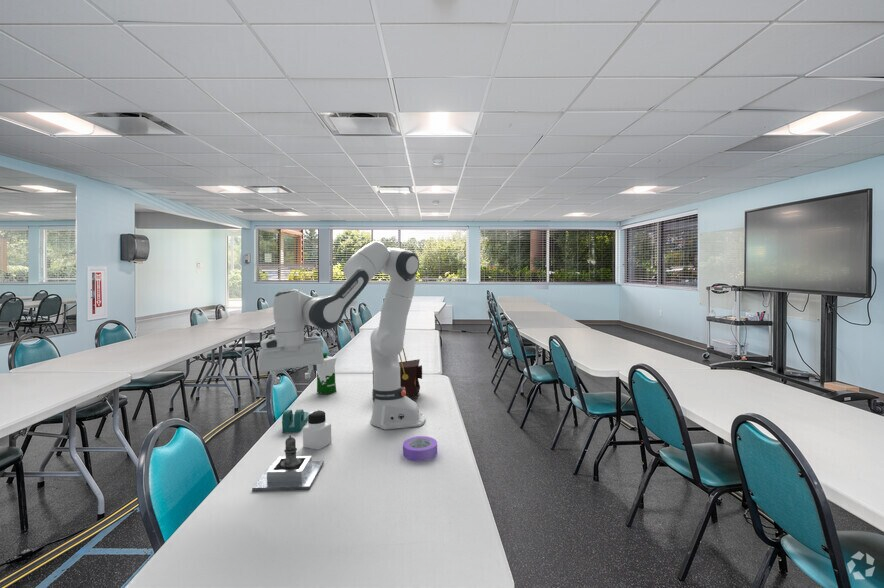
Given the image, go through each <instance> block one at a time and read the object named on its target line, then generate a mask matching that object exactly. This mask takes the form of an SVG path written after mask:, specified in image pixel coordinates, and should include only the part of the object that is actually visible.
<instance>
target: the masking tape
mask: <svg viewBox="0 0 884 588" xmlns="http://www.w3.org/2000/svg"><path fill="white" fill-rule="evenodd" d="M402 455H403V457H404V458H405V459H407V460H410V461H413V462H423V461H424V462H425V461H429V460H432V459H434V458H435V457H436V456H438V441H437V440H436V439H435V438H433V437H430V436H425V435H418V436H412V437H408V438H406V439H405V440H404V441H403V443H402Z"/></svg>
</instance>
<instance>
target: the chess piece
mask: <svg viewBox="0 0 884 588" xmlns="http://www.w3.org/2000/svg"><path fill="white" fill-rule="evenodd" d="M284 442H285V449H284V450H283V451H284V453H285V457H286V458H285V460H284V461H282V462H281V466H282V469H283V470H293V469H298V468H299V467H300V463H301V459H299V458H297V457H296V456H297V450H298V448H297V447H296V438H294V437H292V435H291V434H290V435H288V438H286V439H285V441H284Z"/></svg>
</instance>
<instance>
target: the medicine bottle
mask: <svg viewBox="0 0 884 588" xmlns="http://www.w3.org/2000/svg"><path fill="white" fill-rule="evenodd" d="M308 413H309V414H308V421H307V425H305V426H304V427H303V429H302V447H303V448H306V449H311V450H316V451H320V450H322V449H323V448H325V447H327V446H328V445H330V444H331V443H332V423H327V422H326V420H327V419H326V412H325V411H324V410H313V411H310V412H308Z"/></svg>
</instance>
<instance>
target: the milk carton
mask: <svg viewBox="0 0 884 588" xmlns="http://www.w3.org/2000/svg"><path fill="white" fill-rule="evenodd" d="M323 357H324V361H323V362H322V364H316V393H317V392H318V393H317V394H320V393H322V394H321V395H325V394H326V395H330V394H333V393H336V392H337V385H336V361H337V357H334V356H330V355H329V356H328V353H326V352H323Z"/></svg>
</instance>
